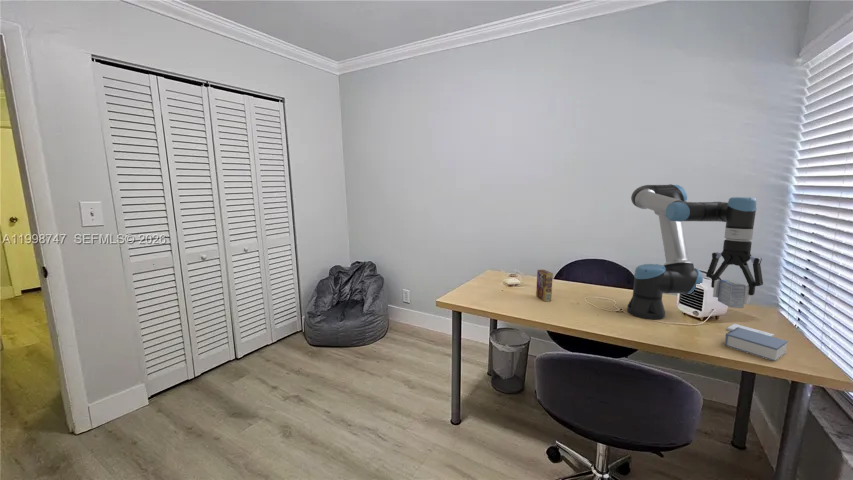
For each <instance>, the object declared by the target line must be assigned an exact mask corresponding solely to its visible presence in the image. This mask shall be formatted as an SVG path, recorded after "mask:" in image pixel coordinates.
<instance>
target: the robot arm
mask: <svg viewBox="0 0 853 480" xmlns="http://www.w3.org/2000/svg"><path fill="white" fill-rule="evenodd" d="M630 199H631V203H632V205H634V206H635V207H637V208H639V209H642V210H651V211H653V212H654V214H655V215H656V216H658V220H659V225H660V231H661V232H660V233H661V238H662V244H663V245H662V246H663V250H664V251H663V252H664V257H665V263H664V264H658V263H654V264H653V263H645V264H641V265H638V266H637V267H635V270H634V275H633V277H634V279H633V287H632V297H631V298H630V299H629V302H628V304H627V308H626V311H627V312H628V314H630V315H632V316H634V317H637V318H642V319H645V320H646V319H647V320H663V319H664V318H665V317H666V311H665V307H664V304H663V294H682V295H689V293H692V292H693V291H694V290H695V288H696V284H700V283H702V284H703V281H704V280H703V279H704V277H703V273H702V272H701V270H700V269H699V268H695V266H694V263H693V262H692V261H690V260H689V256H688V249H687V245H686V239H685V235H684V234H685V233H684V228H683V227H684V226H683V222H722V223H725V229H724V230H725V231H724V238H725V239H724V240H723V248H722V251H721V252H719V251H718V252H716V251H715V252H712V254H711V260H710V264H709V267H708V269H707V272H706V275H705V276H706V277H707V278H710V279H711V283H710V285H711V286H710V287H711V288H713V293H712V297H713V298H718V293H719V283H720V280H721V279H720V277H721V275H723V273H724V272H725V270H726V269H727V268H728V267H729V265H731V266H732V265H734V266H737V267H738V266H739V269H741V271H742V274H743V276H744V278H745V280H746V282H747V285H745V286H746V288H745V297H744V305H748V304H750V303H751V297H752V296H754V295H755V291H756V287H761V286H763V285H764V281H763V274H762V266H761V264H762V261H763V259H762V257H755V256H753V255H752V253H751V250H752V243H753V242H752V240H753V235H754V225H755V219H756V214H757V213H756V211H757V199H756V197H750V196H748V197H746V196H745V197H744V196H743V197H739V196H738V197H737V196H736V197H735V196H733V197H730V198H728V201H726V202H725V201H698V202H697V201H696V202H693V201H687V200H688V194H687V191H686V190H685V188H684V187H683V186H681V185H679V184H671V183H669V184H645V185H641V186H638V187H637V188H636V189H634V191H633V192H632V194H631V196H630ZM721 257H722V259H723V261H722V263H721V265H720V266H719V267H718V268H717V266H718V263H719V260H720V258H721ZM749 261H751V263H752V270H753V274H754V276H753V274H752V272H751V270H750V268H749V267H750V266H749V264H748V262H749ZM716 268H717V269H716ZM692 294H693V293H692Z"/></svg>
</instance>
